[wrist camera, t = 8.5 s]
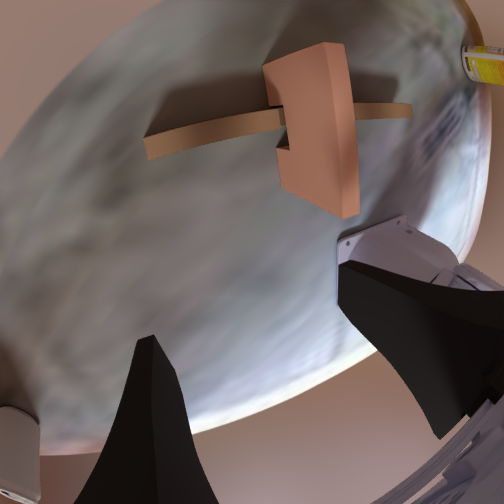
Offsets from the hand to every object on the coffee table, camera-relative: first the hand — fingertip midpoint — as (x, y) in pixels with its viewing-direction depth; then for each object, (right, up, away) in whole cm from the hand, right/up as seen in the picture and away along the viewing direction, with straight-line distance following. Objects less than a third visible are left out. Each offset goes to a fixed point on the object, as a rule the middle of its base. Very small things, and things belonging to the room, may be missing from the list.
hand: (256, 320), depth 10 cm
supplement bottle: (+30, +29, +11) cm, 43 cm away
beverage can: (-29, -18, +9) cm, 35 cm away
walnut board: (+3, +12, +8) cm, 14 cm away
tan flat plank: (+2, +11, +8) cm, 14 cm away
